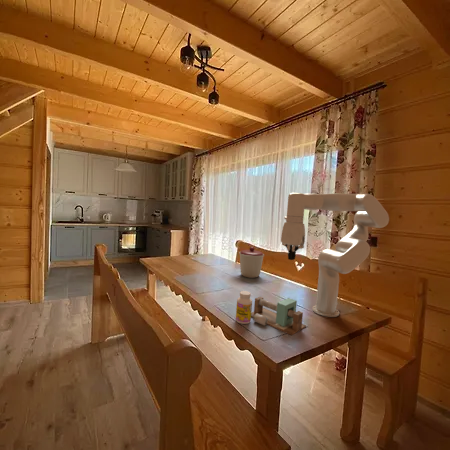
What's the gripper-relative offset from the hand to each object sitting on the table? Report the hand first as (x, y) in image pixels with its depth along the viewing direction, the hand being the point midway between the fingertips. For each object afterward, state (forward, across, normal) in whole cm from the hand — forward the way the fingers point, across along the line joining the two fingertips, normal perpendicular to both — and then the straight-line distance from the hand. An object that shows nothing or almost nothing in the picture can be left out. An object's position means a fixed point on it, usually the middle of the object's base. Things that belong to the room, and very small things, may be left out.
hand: (291, 259), depth 120 cm
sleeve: (+26, -3, -18) cm, 32 cm away
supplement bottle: (+27, -9, -21) cm, 36 cm away
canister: (+27, -53, +37) cm, 70 cm away
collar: (+26, +5, -9) cm, 28 cm away
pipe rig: (+27, 0, -9) cm, 29 cm away
